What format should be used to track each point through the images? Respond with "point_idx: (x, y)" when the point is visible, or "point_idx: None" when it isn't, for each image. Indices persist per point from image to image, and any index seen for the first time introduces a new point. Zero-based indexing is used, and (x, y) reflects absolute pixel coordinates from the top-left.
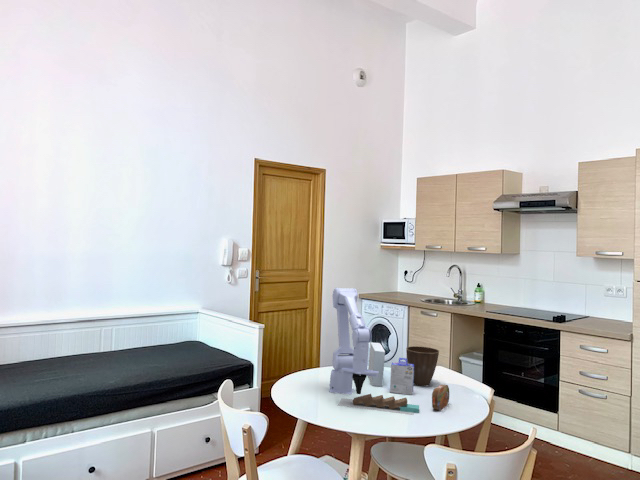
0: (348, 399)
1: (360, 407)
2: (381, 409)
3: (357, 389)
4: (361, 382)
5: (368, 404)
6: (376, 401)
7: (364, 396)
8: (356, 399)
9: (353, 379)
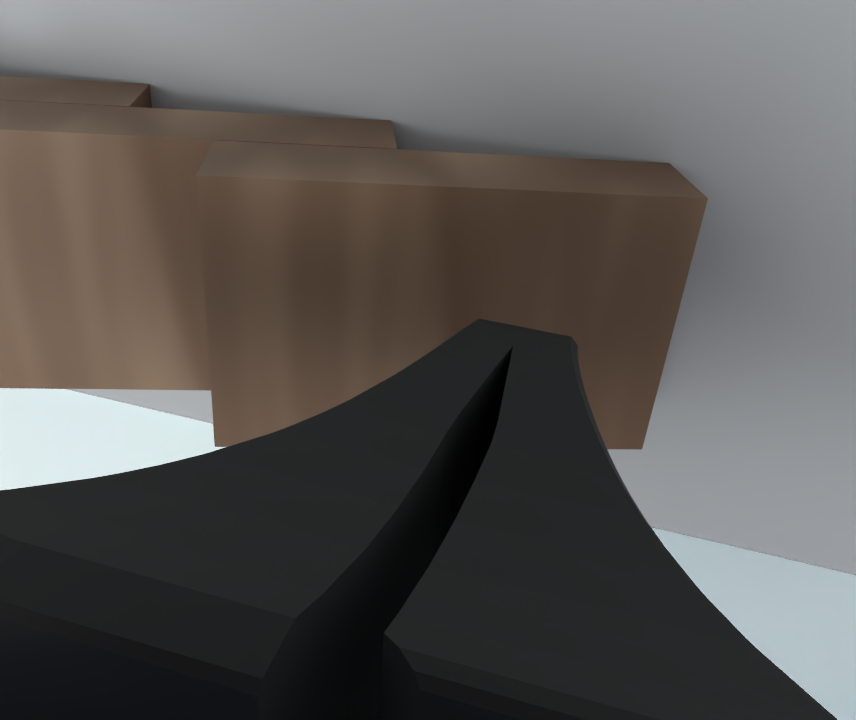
0: (761, 512)
1: (502, 15)
2: (50, 1)
3: (538, 379)
4: (276, 475)
5: (306, 125)
6: (80, 116)
7: (373, 340)
8: (593, 257)
9: (757, 665)
